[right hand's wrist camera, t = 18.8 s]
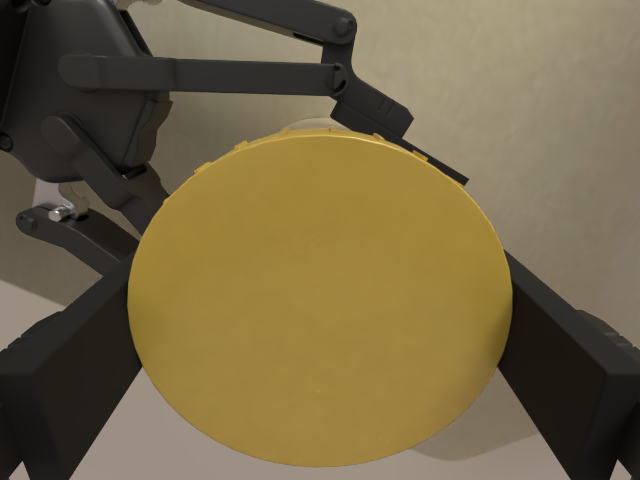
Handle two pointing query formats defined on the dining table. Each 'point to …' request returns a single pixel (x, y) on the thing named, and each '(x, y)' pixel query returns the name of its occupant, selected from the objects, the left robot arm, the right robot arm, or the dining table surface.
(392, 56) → the dining table surface
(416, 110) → the dining table surface
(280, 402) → the lid
